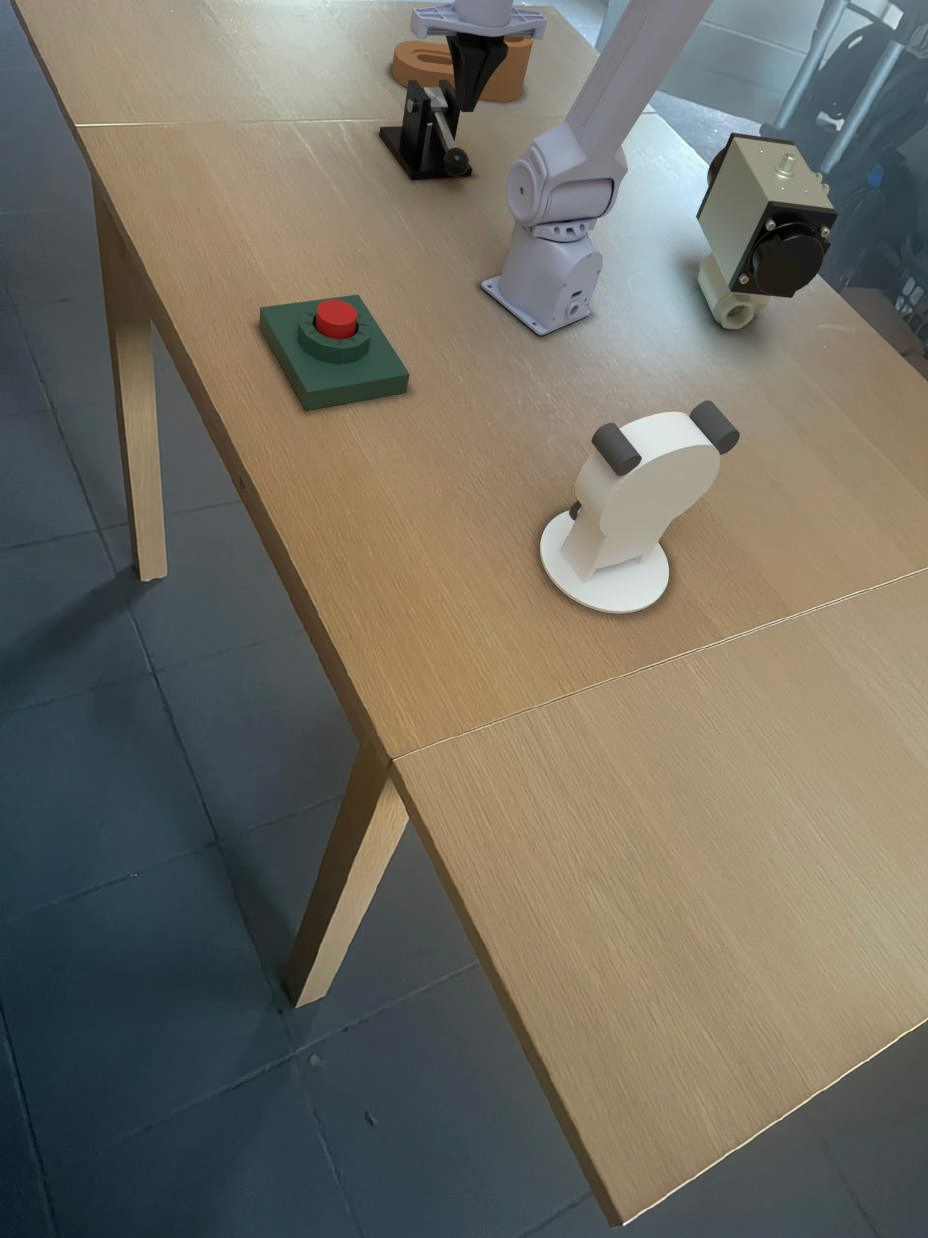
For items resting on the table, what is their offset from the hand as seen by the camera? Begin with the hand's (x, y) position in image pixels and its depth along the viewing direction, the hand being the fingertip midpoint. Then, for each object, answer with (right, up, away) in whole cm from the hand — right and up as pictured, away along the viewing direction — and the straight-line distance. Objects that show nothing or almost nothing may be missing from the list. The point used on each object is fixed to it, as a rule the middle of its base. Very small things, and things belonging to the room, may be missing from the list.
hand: (464, 107), depth 100 cm
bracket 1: (-1, +17, +25) cm, 31 cm away
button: (-12, -29, -16) cm, 35 cm away
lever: (-3, 0, +8) cm, 9 cm away
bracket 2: (-5, +1, +12) cm, 13 cm away
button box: (-12, -31, -13) cm, 36 cm away
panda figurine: (+12, -50, -21) cm, 56 cm away
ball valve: (+30, -20, +5) cm, 36 cm away
